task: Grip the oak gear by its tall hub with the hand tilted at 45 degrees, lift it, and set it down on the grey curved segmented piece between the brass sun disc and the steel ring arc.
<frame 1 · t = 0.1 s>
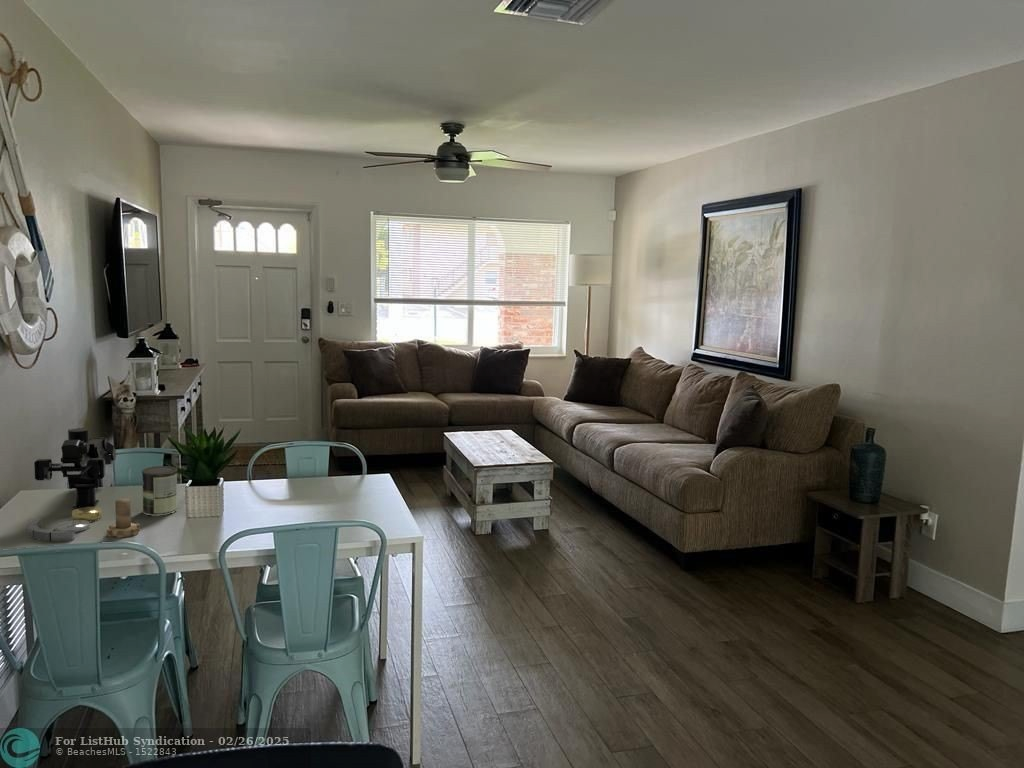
hand: (62, 476, 218), 17 cm above the table, tool horizontal, fingers open, 9 cm apart
coffee can: (160, 512, 242), on the table
gear: (123, 533, 221), on the table
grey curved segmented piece: (72, 528, 222), on the table
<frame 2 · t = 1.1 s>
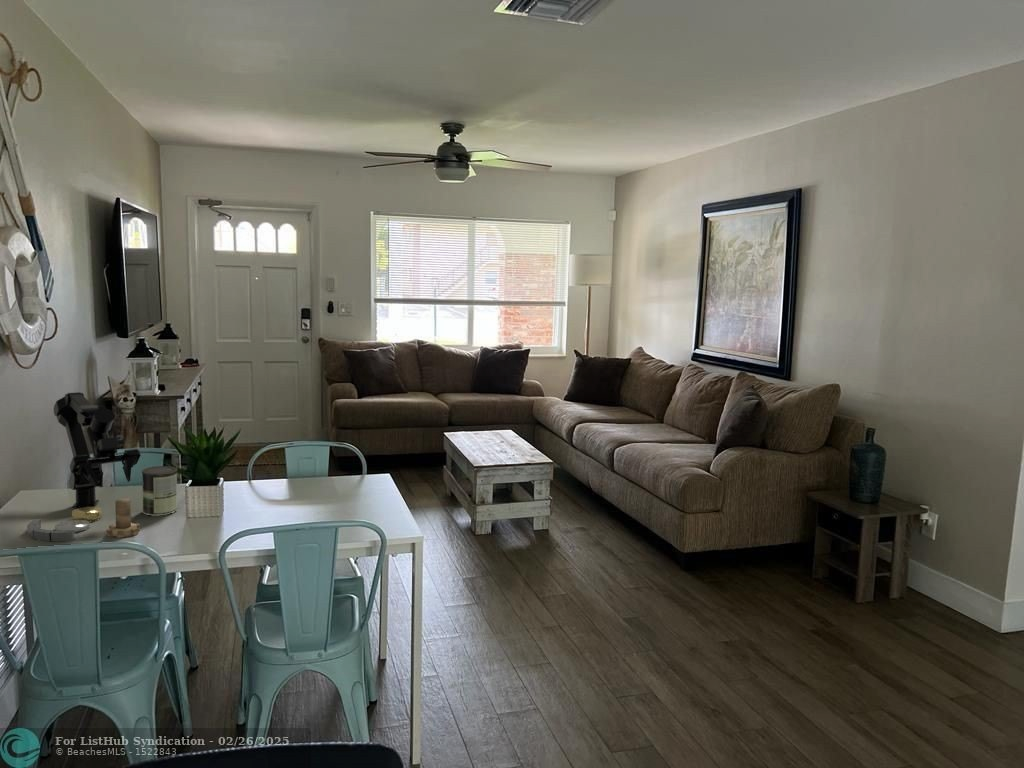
hand: (113, 483, 224), 13 cm above the table, tool tilted 45°, fingers open, 9 cm apart
nothing on the table moved.
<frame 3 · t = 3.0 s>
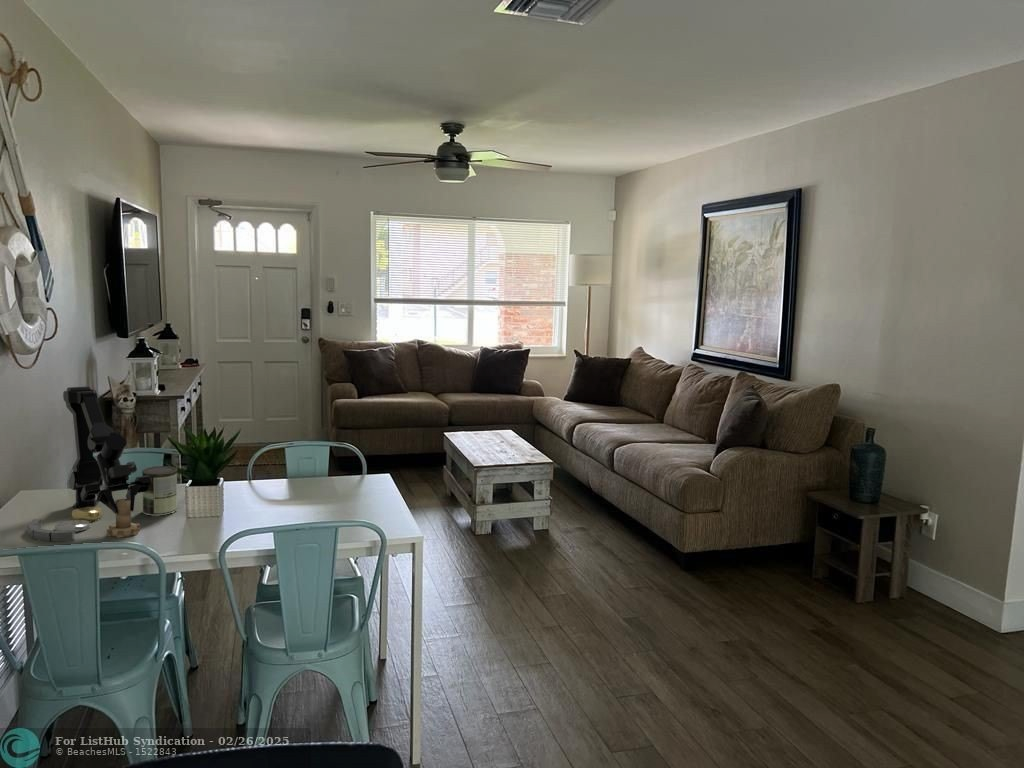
hand: (124, 512, 219), 7 cm above the table, tool tilted 45°, fingers closed on gear, 4 cm apart
gear: (123, 532, 221), on the table, touching gripper
everything else where it was.
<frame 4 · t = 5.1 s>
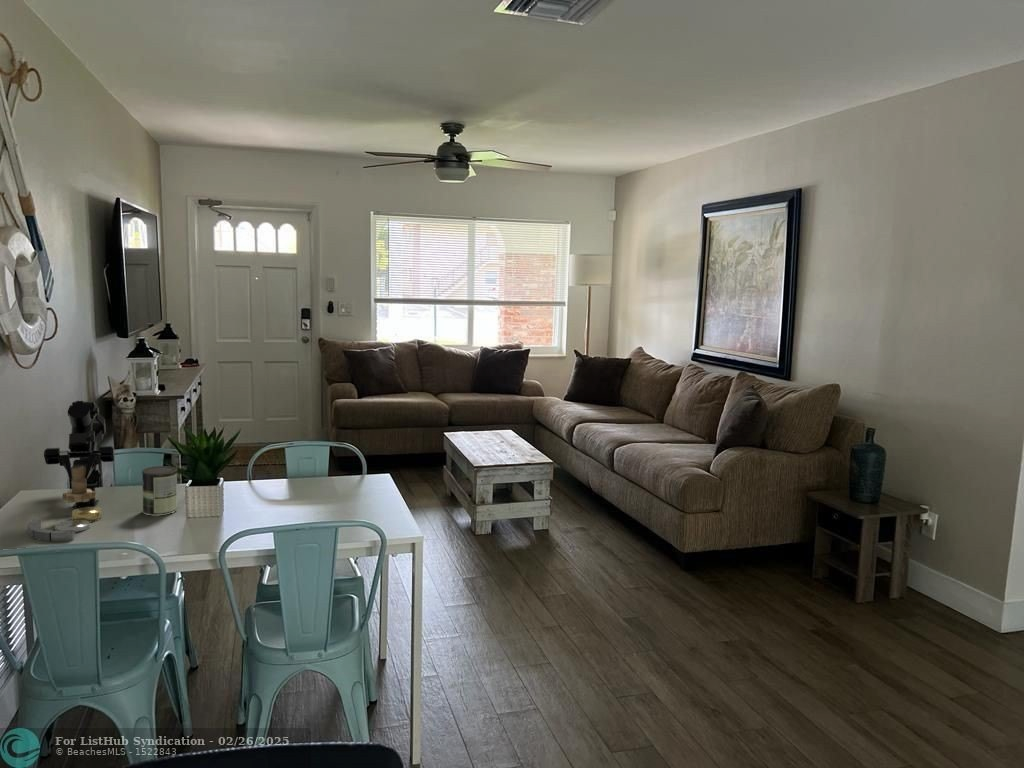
hand: (78, 478, 226), 14 cm above the table, tool tilted 45°, fingers closed on gear, 4 cm apart
gear: (79, 498, 228), point 7 cm above the table, touching gripper
everything else where it was.
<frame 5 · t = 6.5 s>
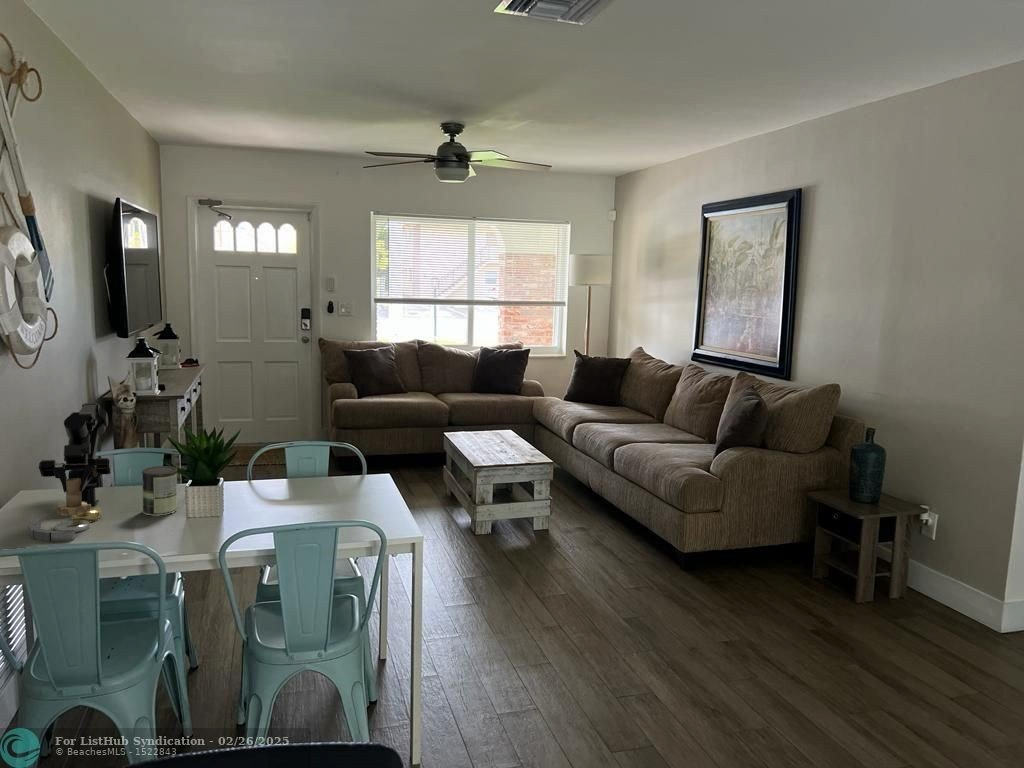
hand: (72, 491, 222), 11 cm above the table, tool tilted 45°, fingers closed on gear, 4 cm apart
gear: (74, 511, 224), point 4 cm above the table, touching gripper
everything else where it was.
when the fingers open (9 cm above the table, at t = 7.5 s): gear drops 1 cm, resting on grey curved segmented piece.
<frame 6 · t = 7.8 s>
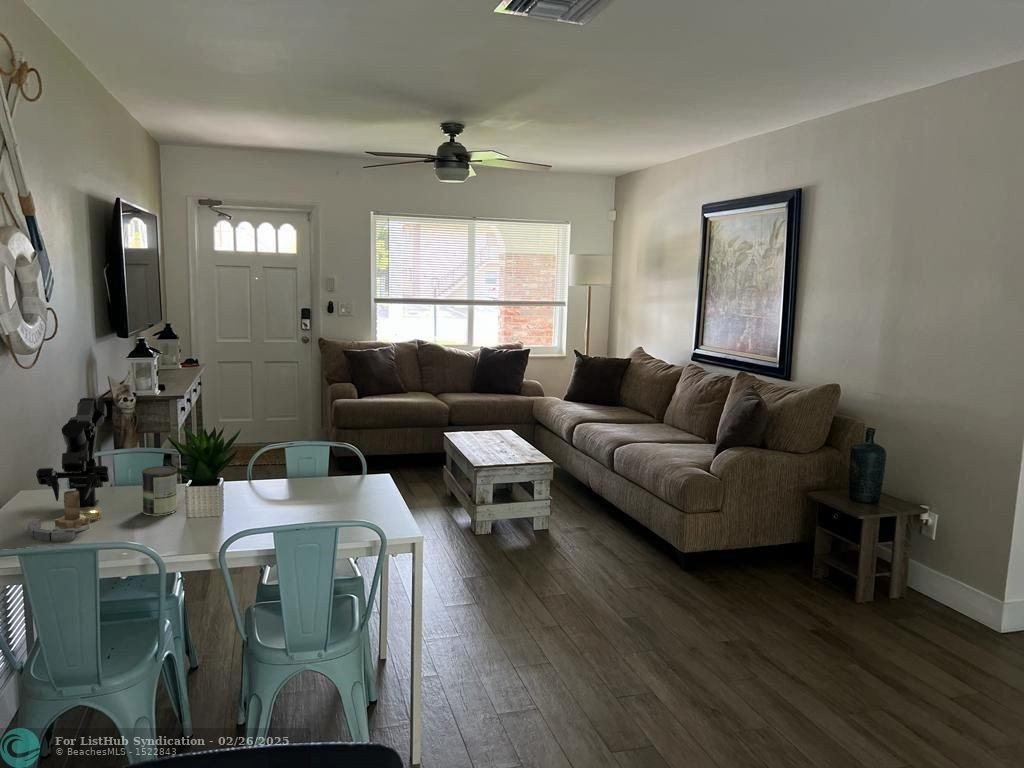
hand: (70, 499, 219), 9 cm above the table, tool tilted 45°, fingers open, 7 cm apart
gear: (72, 524, 222), point 1 cm above the table, touching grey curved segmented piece
everything else where it was.
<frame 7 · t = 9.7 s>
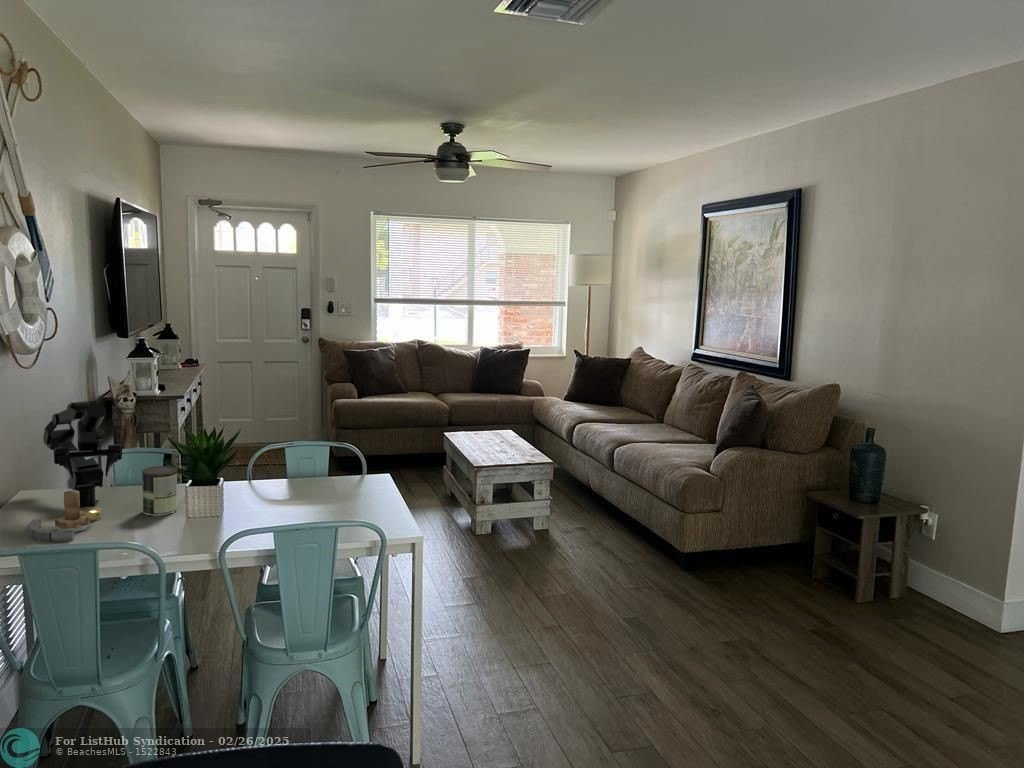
hand: (89, 477, 229), 13 cm above the table, tool tilted 45°, fingers open, 9 cm apart
nothing on the table moved.
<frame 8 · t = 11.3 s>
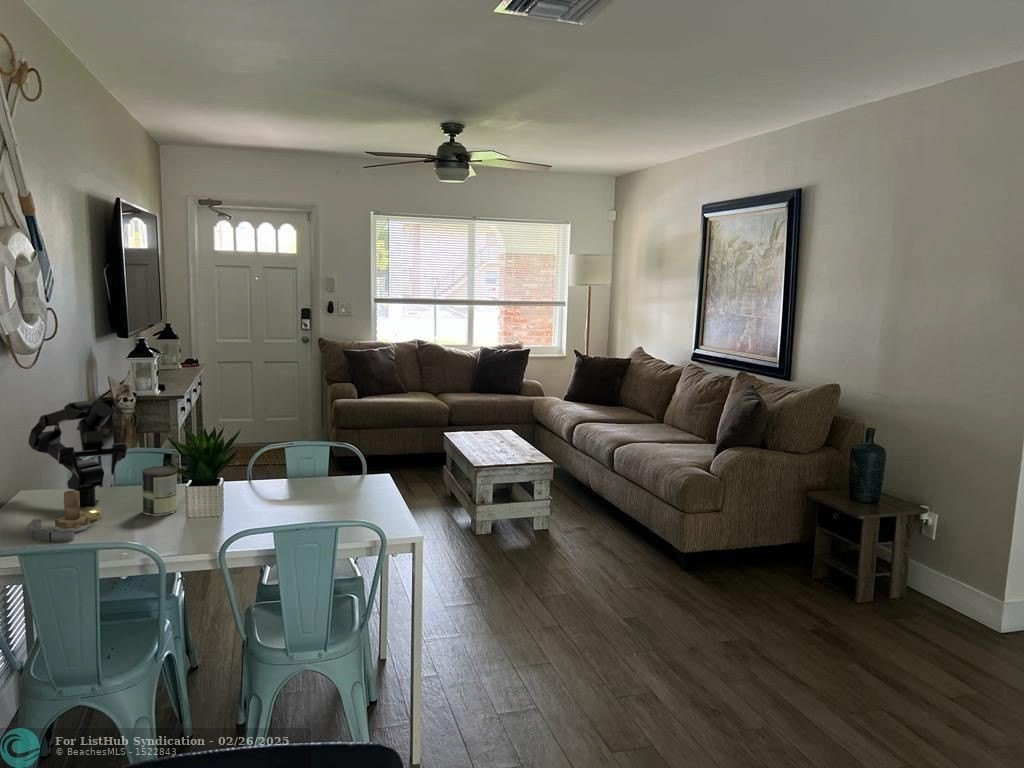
hand: (96, 476, 231), 14 cm above the table, tool tilted 45°, fingers open, 9 cm apart
nothing on the table moved.
at the end: gear 0.1 cm from the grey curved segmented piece (horizontally); gear point 1.2 cm above the table; gear tilted 0° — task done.
